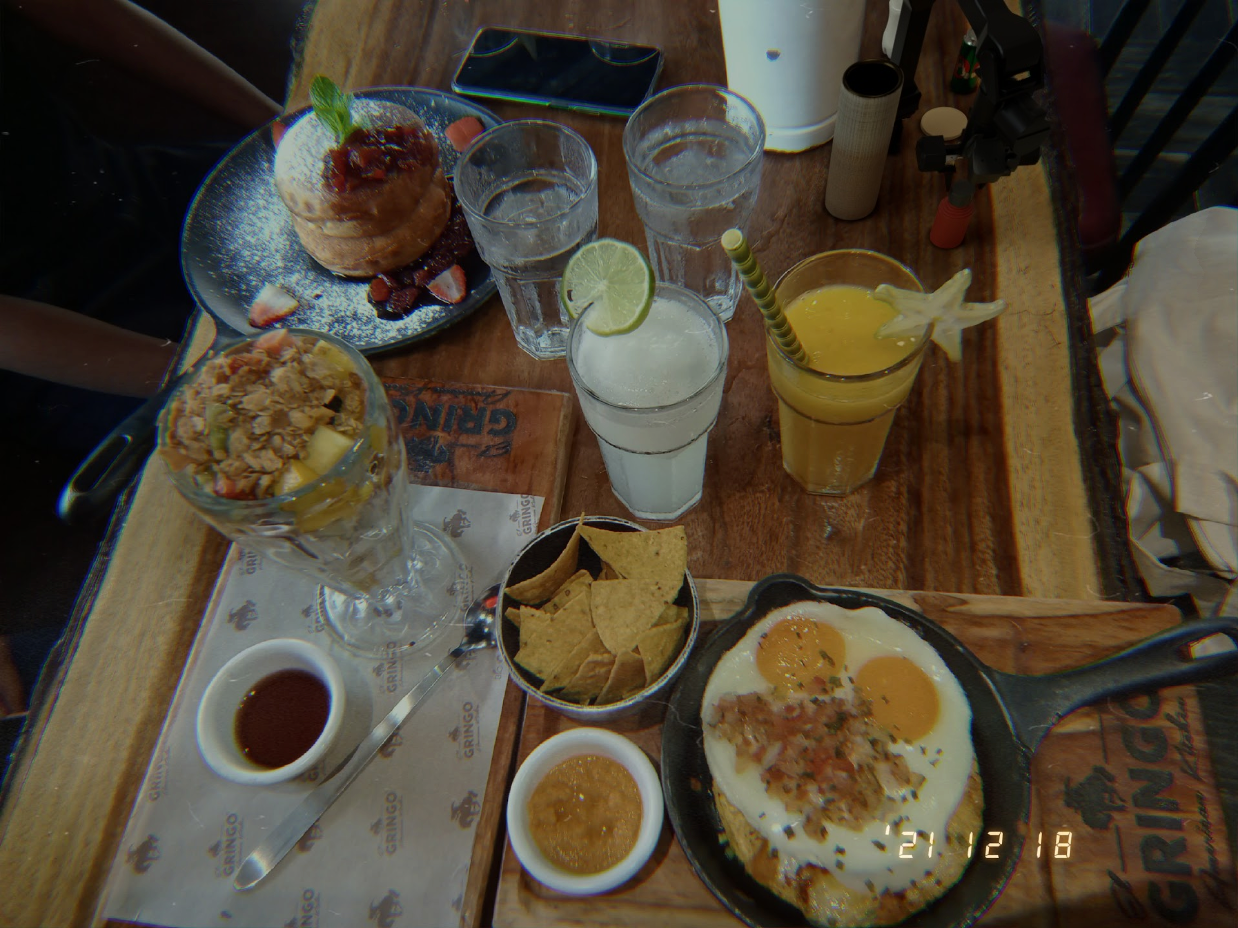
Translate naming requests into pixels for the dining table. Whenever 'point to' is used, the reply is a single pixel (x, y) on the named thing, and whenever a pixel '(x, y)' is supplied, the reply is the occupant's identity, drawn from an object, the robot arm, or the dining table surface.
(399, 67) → the dining table surface
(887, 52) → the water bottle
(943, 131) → the coaster
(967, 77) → the soda can
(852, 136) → the vase
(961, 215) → the sauce bottle
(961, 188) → the cap
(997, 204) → the dining table surface
